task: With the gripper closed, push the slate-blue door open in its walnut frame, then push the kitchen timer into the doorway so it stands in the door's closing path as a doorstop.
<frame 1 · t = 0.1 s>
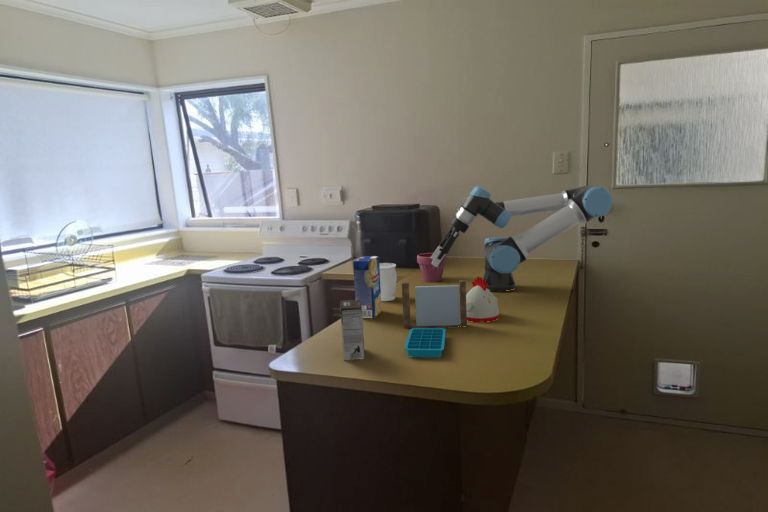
hand: (433, 262, 214), 15 cm above the worktop, tool tilted 35°, fingers open, 13 cm apart
kitchen timer: (480, 317, 186), on the worktop
blue cardboard box: (369, 315, 196), on the worktop
plant pot: (432, 280, 250), on the worktop
jar: (385, 299, 218), on the worktop
door: (437, 305, 177), point 7 cm above the worktop, hinge at 0.0°
coffee box: (353, 355, 154), on the worktop
ice cube tray: (426, 348, 158), on the worktop
door frame: (434, 326, 178), on the worktop
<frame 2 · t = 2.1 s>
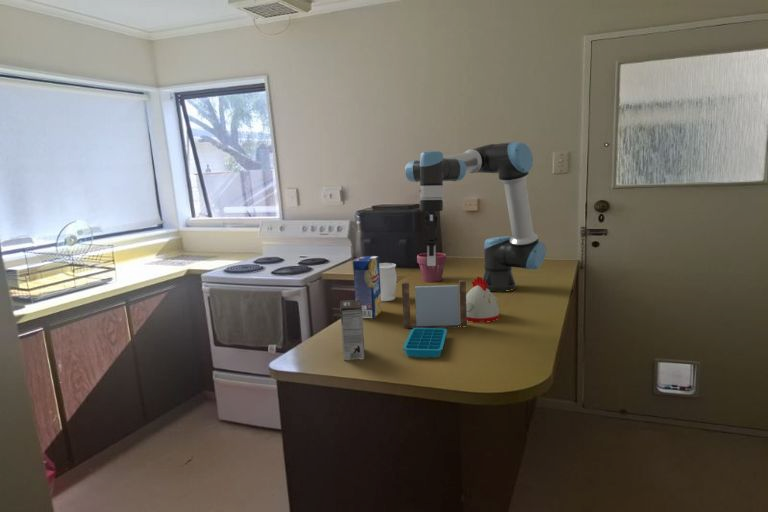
hand: (431, 262, 170), 23 cm above the worktop, tool pointing down, fingers open, 13 cm apart
nothing on the worktop moved.
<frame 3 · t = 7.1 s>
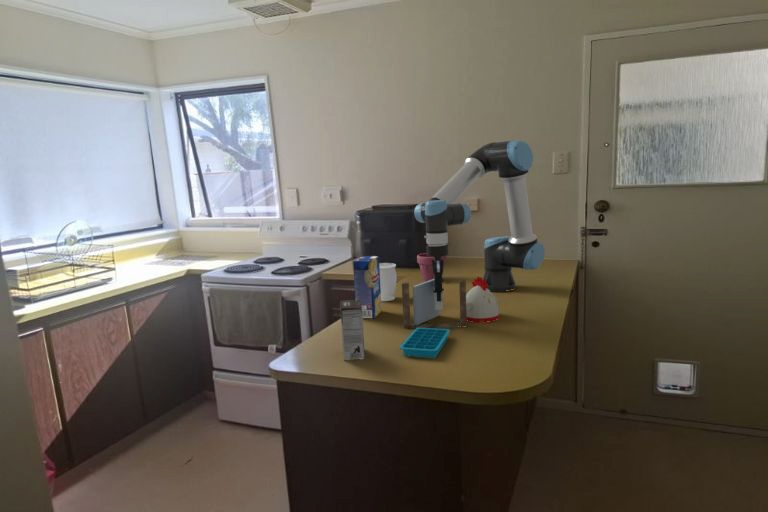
hand: (439, 309, 182), 4 cm above the worktop, tool pointing down, fingers closed
door: (425, 300, 184), point 7 cm above the worktop, hinge at 55.2°, touching hand
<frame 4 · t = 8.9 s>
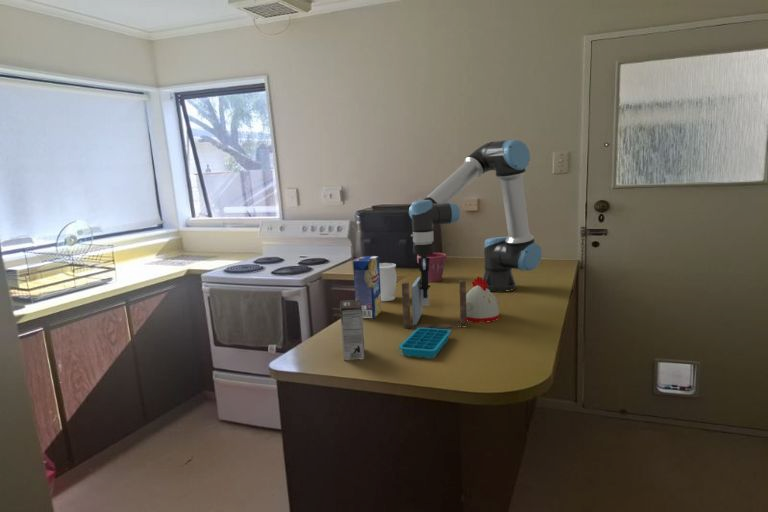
hand: (425, 305, 189), 4 cm above the worktop, tool pointing down, fingers closed
door: (414, 300, 185), point 7 cm above the worktop, hinge at 81.6°, touching hand
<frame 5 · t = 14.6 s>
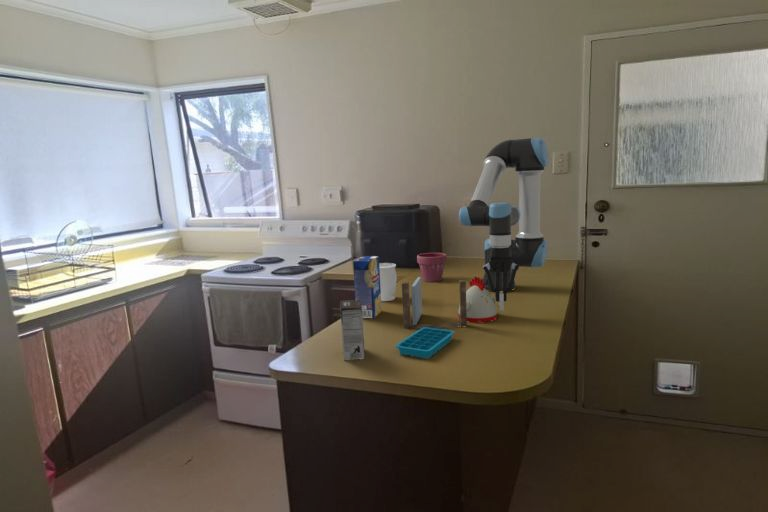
hand: (501, 309, 185), 2 cm above the worktop, tool pointing down, fingers closed
kitchen timer: (477, 317, 186), on the worktop, touching gripper
door: (414, 300, 185), point 7 cm above the worktop, hinge at 81.9°
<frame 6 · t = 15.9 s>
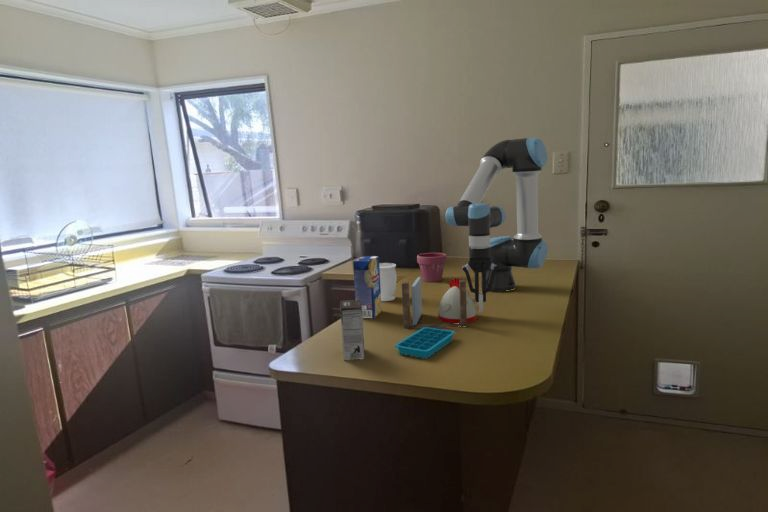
hand: (480, 310, 186), 2 cm above the worktop, tool pointing down, fingers closed
kitchen timer: (457, 318, 186), on the worktop
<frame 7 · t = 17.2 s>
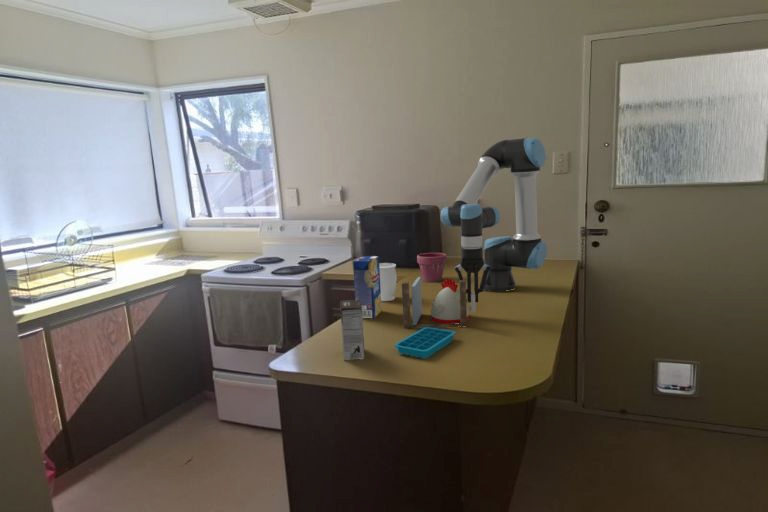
hand: (473, 310, 186), 2 cm above the worktop, tool pointing down, fingers closed
kitchen timer: (450, 319, 186), on the worktop
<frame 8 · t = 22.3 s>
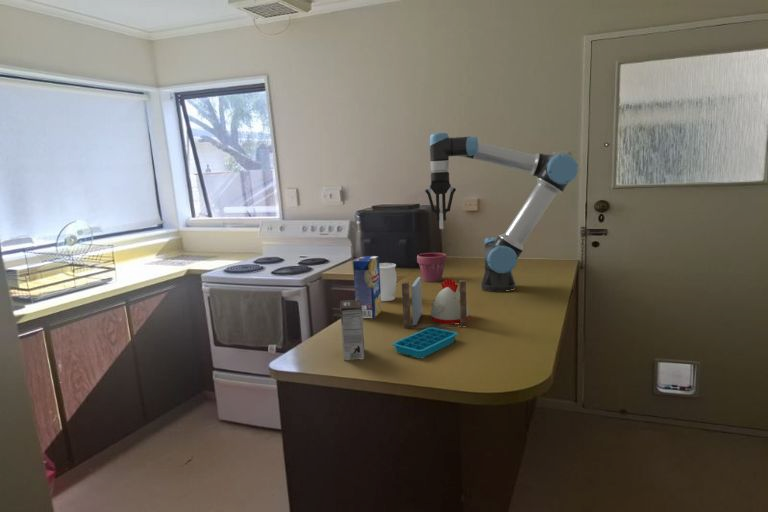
hand: (441, 228, 213), 29 cm above the worktop, tool pointing down, fingers closed
at the end: door at +82° (first picture: +0°); kitchen timer inside the target area (1.8 cm from its centre), on the worktop; kitchen timer tilted 0° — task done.
